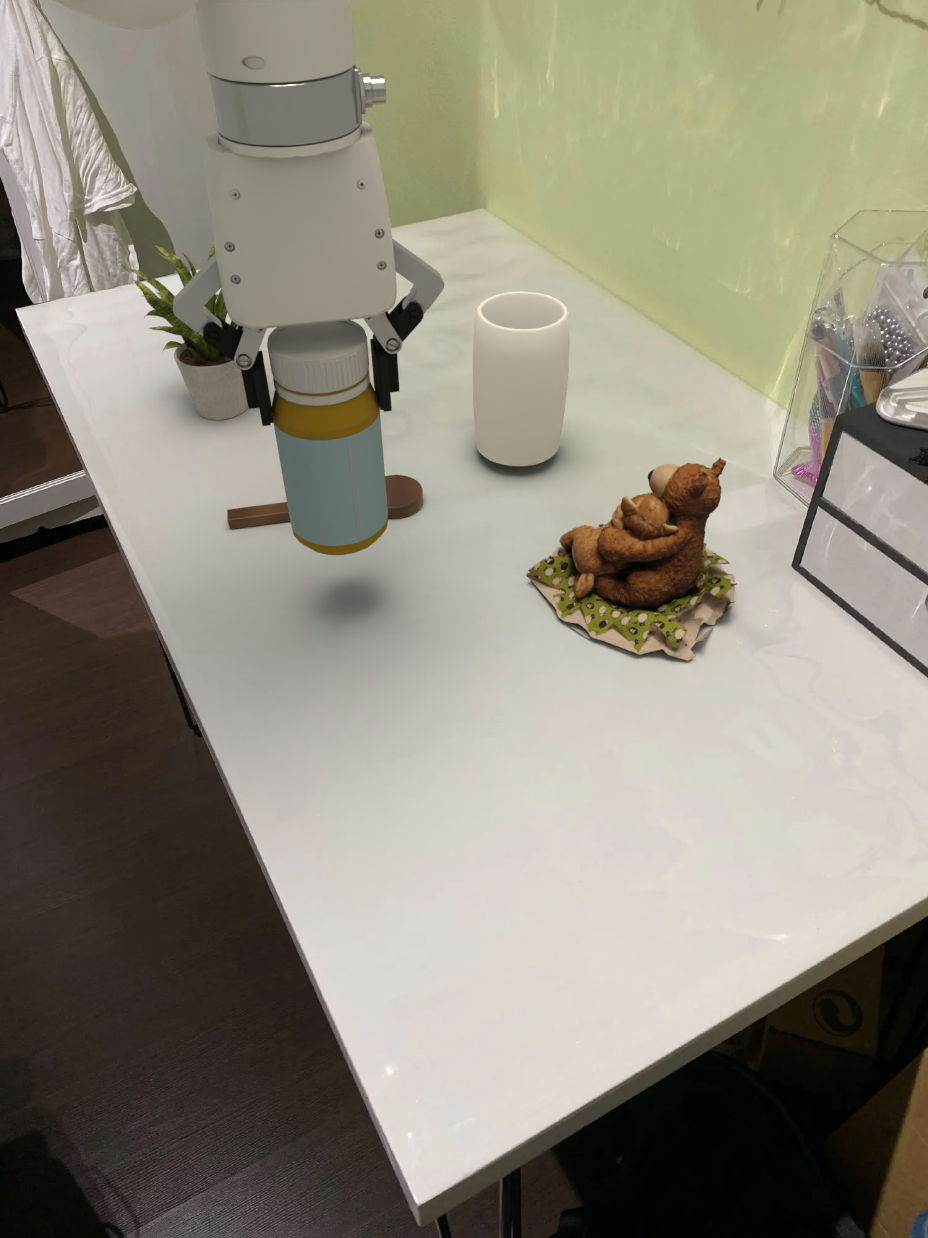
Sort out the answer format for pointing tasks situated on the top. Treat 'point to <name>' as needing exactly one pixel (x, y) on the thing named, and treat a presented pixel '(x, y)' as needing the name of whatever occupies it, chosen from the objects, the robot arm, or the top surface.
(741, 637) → the top surface
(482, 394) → the cup
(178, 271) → the house plant
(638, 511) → the bear figurine
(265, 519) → the spoon
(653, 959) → the top surface
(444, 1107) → the top surface
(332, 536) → the bottle
